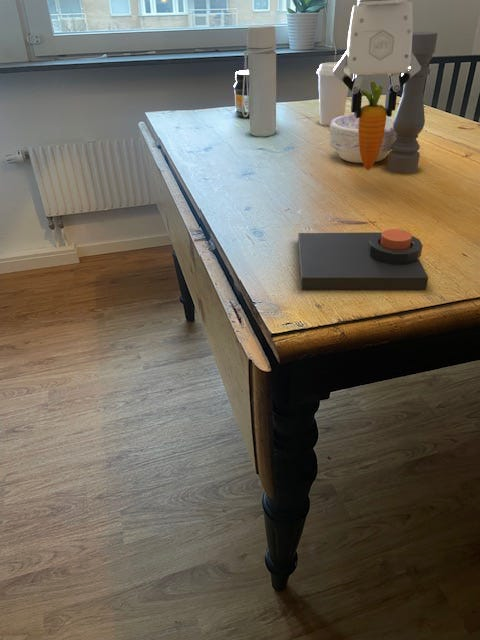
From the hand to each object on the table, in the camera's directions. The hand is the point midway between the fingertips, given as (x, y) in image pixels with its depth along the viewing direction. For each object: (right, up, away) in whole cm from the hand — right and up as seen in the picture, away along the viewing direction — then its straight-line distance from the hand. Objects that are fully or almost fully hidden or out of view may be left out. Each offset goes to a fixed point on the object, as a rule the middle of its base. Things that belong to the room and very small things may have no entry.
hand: (372, 114), depth 88 cm
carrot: (+1, -8, +5) cm, 10 cm away
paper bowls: (+4, 0, +25) cm, 25 cm away
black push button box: (-7, -29, -17) cm, 34 cm away
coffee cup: (+3, +19, +54) cm, 57 cm away
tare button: (-2, -26, -19) cm, 33 cm away
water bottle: (-18, +13, +46) cm, 51 cm away
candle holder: (+11, -5, +17) cm, 21 cm away
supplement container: (-20, +27, +66) cm, 74 cm away
